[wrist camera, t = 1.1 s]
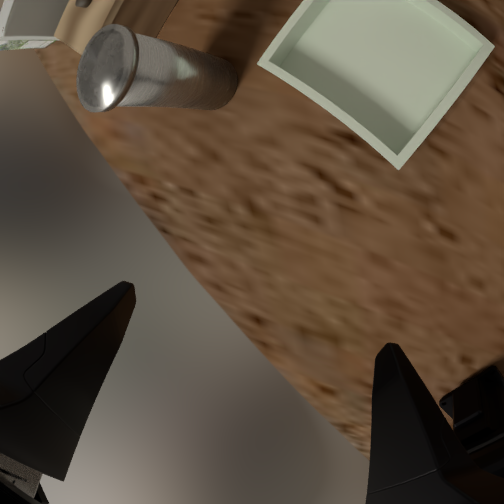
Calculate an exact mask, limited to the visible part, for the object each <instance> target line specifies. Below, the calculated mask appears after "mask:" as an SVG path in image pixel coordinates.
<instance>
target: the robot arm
mask: <svg viewBox="0 0 504 504" xmlns="http://www.w3.org/2000/svg"><path fill="white" fill-rule="evenodd" d="M135 304H136V295H135V288H134V285H133V284H132V283H129V282H126V281H122V282H120V283H118V284H117V285H115V286H114V287H112V288H110V289H109V290H107V291H106V292H104V293H103V294H101V295H100V296H98V297H96V298H95V299H94V300H92V301H90V302H89V303H88V304H86V305H84V306H83V307H81V308H80V309H78V310H77V311H75V312H74V313H72V314H71V315H69V316H68V317H67V318H65V319H64V320H62V321H61V322H59V323H58V324H57V325H55V326H53V327H52V328H50V329H49V330H48V331H47V332H45V333H43V334H42V335H40V336H39V337H37V338H36V339H35V340H33V341H31V342H30V343H28V344H27V345H25V346H24V347H22V348H20V349H19V350H17V351H15V352H13V353H12V354H10V355H8V356H7V357H5V358H3V359H1V360H0V504H49V502H48V500H47V498H46V496H45V493H44V491H43V489H42V487H41V484H40V479H41V477H42V474H45V475H48V476H50V477H53V478H56V479H58V480H61V481H64V479H65V477H66V474H67V471H68V468H69V465H70V462H71V460H72V457H73V454H74V452H75V449H76V447H77V444H78V441H79V439H80V436H81V433H82V431H83V428H84V426H85V423H86V421H87V419H88V416H89V414H90V411H91V409H92V407H93V404H94V402H95V400H96V397H97V395H98V393H99V391H100V388H101V386H102V384H103V382H104V379H105V377H106V375H107V373H108V371H109V369H110V366H111V364H112V362H113V360H114V358H115V356H116V354H117V352H118V350H119V348H120V345H121V343H122V341H123V338H124V335H125V332H126V329H127V327H128V324H129V321H130V318H131V316H132V313H133V310H134V308H135ZM491 371H493V372H491ZM443 402H444V403H443ZM439 405H440V407H441V408H442V409H443V410H444V411H445V412H446V413H447V414H448V415H449V416H450V417H451V418H452V419H453V430H452V428H451V427H450V425H449V423H448V422H447V420H446V418H445V417H444V415H443V413H442V412H441V410H440V408H439V407H438V405H437V403H436V402H435V400H434V399H433V397H432V395H431V394H430V392H429V390H428V389H427V387H426V386H425V384H424V383H423V381H422V379H421V378H420V376H419V375H418V373H417V372H416V370H415V369H414V367H413V366H412V364H411V362H410V361H409V359H408V358H407V356H406V355H405V353H404V352H403V350H402V349H401V347H400V346H399V345H398V344H396V343H387V344H386V345H385V346H384V347H383V348H382V349H381V351H380V352H379V353H378V354H377V356H376V358H375V368H374V380H373V390H372V424H371V449H370V466H369V478H368V489H367V496H366V504H504V378H503V376H502V375H501V373H500V372H499V370H498V369H497V367H496V366H491V367H489V368H488V369H486V370H485V371H484V372H482V373H481V374H479V375H478V376H476V377H475V378H473V379H472V380H470V381H469V382H467V383H466V384H464V385H463V386H461V387H460V388H458V389H456V390H455V391H453V392H452V393H450V394H448V395H447V396H445V397H443V398H442V399H440V401H439Z"/></svg>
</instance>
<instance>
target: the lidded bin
mask: <svg viewBox="0 0 504 504" xmlns="http://www.w3.org/2000/svg"><path fill="white" fill-rule="evenodd" d="M177 1H178V0H69V2H68V4H67V6H66V8H65V10H64V12H63V15H62V17H61V19H60V22H59V24H58V26H57V29H56V31H55V34H54V37H56V38H57V39H59V40H60V41H62V42H63V43H65V44H66V45H68V46H69V47H71V48H72V49H74V50H75V51H77V52H78V53H79V54H81V55H82V54H83V51H84V49H85V47H86V45H87V44H88V42H89V41H90V39H91V38H92V37H93V36H94V34H95V33H96V32H98V31H99V30H100V29H101V28H103V27H105V26H107V25H110V24H118V25H123V26H127V27H129V28H131V29H132V30H133V31H134V33H136V34H141V35H145V36H149V37H153V38H156V37H157V35H158V33H159V31H160V29H161V28H162V26H163V24H164V23H165V21H166V19H167V17H168V16H169V14H170V12H171V11H172V9H173V8H174V6H175V4H176V3H177Z"/></svg>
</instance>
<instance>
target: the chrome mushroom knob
mask: <svg viewBox="0 0 504 504" xmlns="http://www.w3.org/2000/svg"><path fill="white" fill-rule="evenodd" d="M237 82H238V79H237V73H236V70H235V68H234V67H233V65H232V64H231V63H230V62H228V61H227V60H225V59H222V58H219V57H216V56H213V55H211V54H208V53H205V52H202V51H199V50H196V49H192V48H189V47H186V46H183V45H179V44H176V43H172V42H169V41H165V40H161V39H157V38H153V37H149V36H145V35H141V34H136V33H134V31H133V30H132V29H131V28H129V27H127V26H123V25H118V24H110V25H107V26H105V27H103V28H101V29H100V30H99V31H98V32H96V33H95V34H94V36H93V37H92V38H91V39H90V41H89V42H88V44H87V45H86V47H85V49H84V51H83V54H82V56H81V59H80V62H79V66H78V71H77V92H78V97H79V100H80V102H81V104H82V105H83V107H84V108H85V109H86V110H88V111H90V112H106V111H109V110H111V109H113V108H115V107H116V106H148V107H173V108H189V109H202V110H216V109H219V108H221V107H223V106H225V105H226V104H227V103H228V102H229V101H230V100H231V99H232V97H233V95H234V94H235V91H236V88H237Z"/></svg>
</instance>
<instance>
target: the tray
mask: <svg viewBox="0 0 504 504" xmlns="http://www.w3.org/2000/svg"><path fill="white" fill-rule="evenodd" d="M494 47H495V46H494V45H493V44H492V43H491V42H490V41H489V40H487V39H486V38H485V37H484V36H483V35H482V34H481V33H479V32H478V31H477V30H476V29H475V28H473V27H472V26H471V25H470V24H468V23H467V22H466V21H465V20H463V19H462V18H461V17H460V16H458V15H457V14H456V13H454V12H453V11H451V10H450V9H449V8H447V7H446V6H444V5H443V4H442V3H440V2H439V1H437V0H304V1H303V2H302V3H301V4H300V6H299V7H298V8H297V9H296V11H295V12H294V13H293V14H292V16H291V17H290V18H289V20H288V21H287V22H286V24H285V25H284V26H283V28H282V29H281V30H280V32H279V33H278V34H277V36H276V37H275V39H274V40H273V41H272V43H271V44H270V46H269V47H268V48H267V50H266V51H265V53H264V54H263V56H262V57H261V58H260V60H259V61H258V63H257V64H258V65H259V66H261V67H263V68H264V69H266V70H268V71H269V72H271V73H273V74H274V75H276V76H277V77H279V78H281V79H282V80H284V81H285V82H287V83H288V84H290V85H291V86H293V87H294V88H296V89H297V90H299V91H300V92H302V93H303V94H305V95H306V96H308V97H309V98H311V99H312V100H313V101H315V102H316V103H318V104H319V105H320V106H322V107H323V108H324V109H326V110H327V111H329V112H330V113H331V114H333V115H334V116H335V117H336V118H338V119H339V120H340V121H342V122H343V123H344V124H346V125H347V126H348V127H349V128H351V129H352V130H353V131H354V132H355V133H357V134H358V135H359V136H360V137H362V138H363V139H364V140H365V141H366V142H368V143H369V144H370V145H371V146H372V147H373V148H375V149H376V150H377V151H378V152H379V153H380V154H381V155H382V156H384V157H385V158H386V159H387V160H388V161H389V162H390V163H391V164H392V165H393V166H395V167H396V168H397V169H398V170H399V169H400V168H401V167H402V166H403V165H404V163H405V162H406V161H407V160H408V159H409V157H410V156H411V155H412V154H413V153H414V151H415V150H416V149H417V148H418V147H419V145H420V144H421V143H422V142H423V141H424V139H425V138H426V137H427V136H428V134H429V133H430V132H431V131H432V130H433V128H434V127H435V126H436V125H437V123H438V122H439V121H440V120H441V118H442V117H443V116H444V115H445V113H446V112H447V111H448V109H449V108H450V107H451V106H452V104H453V103H454V102H455V100H456V99H457V98H458V96H459V95H460V94H461V93H462V91H463V90H464V89H465V87H466V86H467V85H468V83H469V82H470V81H471V79H472V78H473V76H474V75H475V74H476V72H477V71H478V70H479V68H480V67H481V65H482V64H483V63H484V61H485V60H486V58H487V57H488V56H489V54H490V53H491V51H492V50H493V48H494Z"/></svg>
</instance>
